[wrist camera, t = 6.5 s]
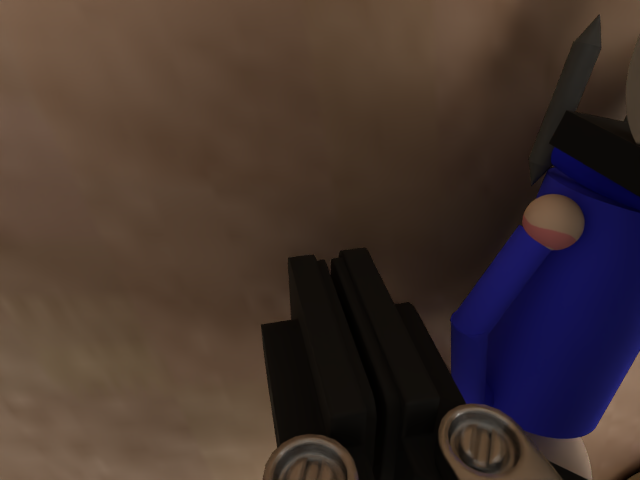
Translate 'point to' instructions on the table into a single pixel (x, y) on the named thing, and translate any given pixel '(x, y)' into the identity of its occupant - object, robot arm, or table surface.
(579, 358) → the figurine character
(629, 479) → the stacking toy
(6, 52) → the table surface
